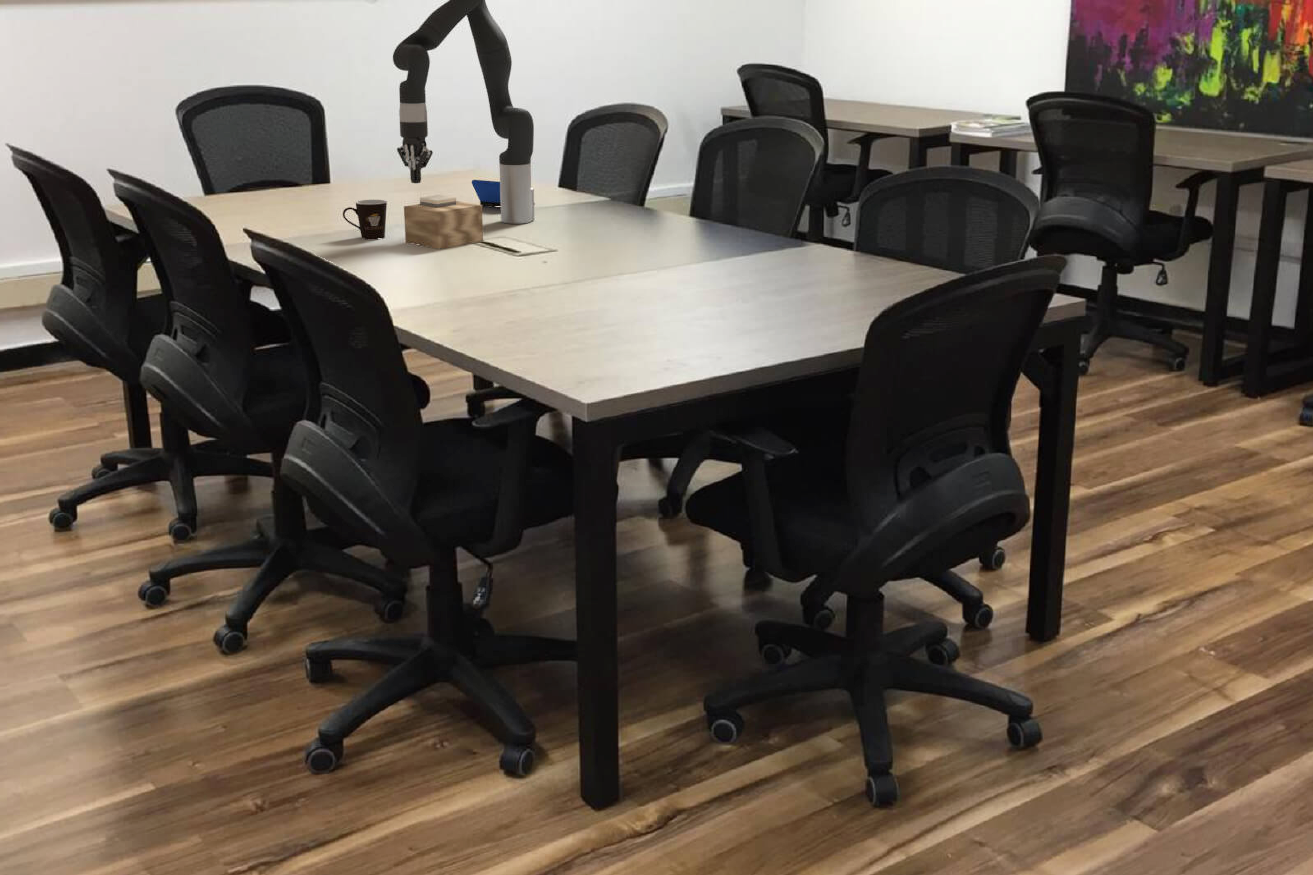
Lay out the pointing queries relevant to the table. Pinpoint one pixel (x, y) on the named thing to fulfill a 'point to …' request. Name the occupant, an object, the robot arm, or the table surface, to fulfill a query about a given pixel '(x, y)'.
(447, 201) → the coaster
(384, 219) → the coffee mug
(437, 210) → the oak block
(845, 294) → the table surface
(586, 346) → the table surface
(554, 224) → the table surface
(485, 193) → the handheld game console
